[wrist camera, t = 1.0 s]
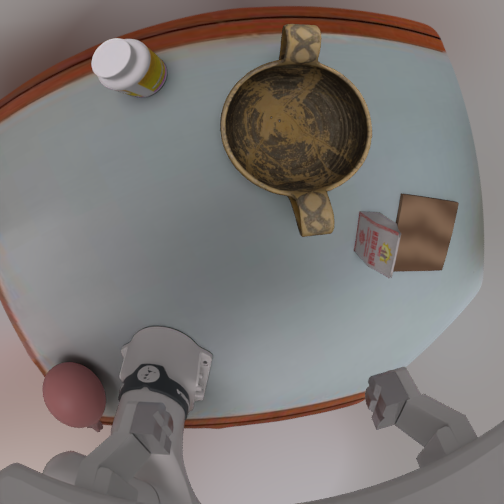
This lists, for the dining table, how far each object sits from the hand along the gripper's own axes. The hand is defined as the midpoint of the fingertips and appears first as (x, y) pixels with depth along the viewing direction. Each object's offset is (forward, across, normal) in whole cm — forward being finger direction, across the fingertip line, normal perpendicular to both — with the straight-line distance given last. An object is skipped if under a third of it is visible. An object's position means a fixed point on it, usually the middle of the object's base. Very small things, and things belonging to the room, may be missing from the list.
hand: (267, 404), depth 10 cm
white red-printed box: (+34, -19, +8) cm, 40 cm away
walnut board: (+34, -31, +10) cm, 48 cm away
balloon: (+33, +44, +36) cm, 66 cm away
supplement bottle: (+34, +12, -20) cm, 41 cm away
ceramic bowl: (+34, -7, -9) cm, 36 cm away
